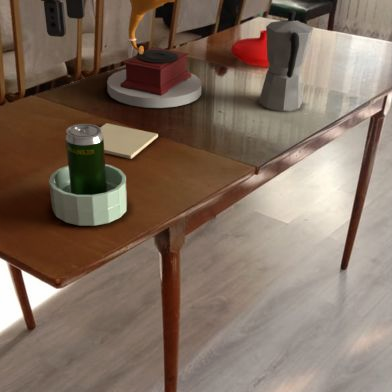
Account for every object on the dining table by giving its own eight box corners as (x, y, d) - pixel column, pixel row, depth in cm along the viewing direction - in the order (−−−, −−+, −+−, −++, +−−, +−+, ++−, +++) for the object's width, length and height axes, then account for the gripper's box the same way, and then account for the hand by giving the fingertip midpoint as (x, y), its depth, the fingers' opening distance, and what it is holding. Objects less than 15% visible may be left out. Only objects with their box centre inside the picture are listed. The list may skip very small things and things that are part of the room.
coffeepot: (255, 92, 138) (264, 1, 127) (297, 93, 139) (310, 3, 127) (263, 118, 127) (273, 21, 115) (309, 120, 127) (324, 23, 116)
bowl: (85, 235, 91) (82, 204, 87) (38, 208, 96) (34, 177, 93) (141, 209, 97) (141, 179, 94) (94, 185, 102) (92, 156, 99)
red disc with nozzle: (297, 57, 159) (301, 26, 155) (289, 76, 148) (293, 44, 143) (237, 50, 162) (239, 20, 157) (224, 68, 150) (226, 36, 146)
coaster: (131, 159, 110) (130, 155, 110) (76, 146, 113) (76, 143, 113) (157, 136, 118) (157, 133, 118) (106, 126, 121) (106, 123, 121)
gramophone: (89, 95, 133) (78, -41, 117) (137, 69, 147) (134, -56, 131) (174, 115, 127) (176, -27, 110) (216, 85, 141) (224, -44, 124)
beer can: (111, 212, 95) (107, 136, 87) (76, 217, 94) (68, 140, 86) (103, 196, 99) (98, 121, 91) (69, 201, 97) (61, 125, 90)
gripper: (39, -139, 75) (55, 10, 86) (-5, -130, 64) (19, 39, 75) (101, -136, 74) (108, 14, 85) (66, -126, 64) (80, 44, 74)
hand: (66, 26), depth 80 cm, fingers open, 8 cm apart
